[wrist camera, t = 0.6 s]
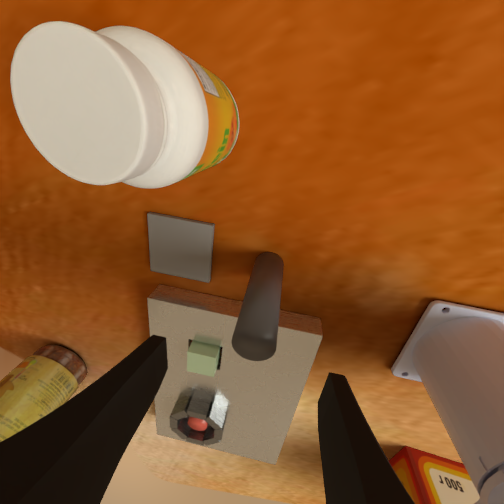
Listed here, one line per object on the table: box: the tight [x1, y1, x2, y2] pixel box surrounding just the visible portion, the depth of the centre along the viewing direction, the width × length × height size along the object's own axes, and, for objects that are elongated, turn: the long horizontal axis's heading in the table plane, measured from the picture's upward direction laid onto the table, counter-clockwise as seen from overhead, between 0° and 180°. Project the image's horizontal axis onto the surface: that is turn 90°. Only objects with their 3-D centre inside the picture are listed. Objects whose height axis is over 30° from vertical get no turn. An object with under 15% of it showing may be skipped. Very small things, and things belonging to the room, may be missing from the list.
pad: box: [187, 340, 221, 377], centre depth 22 cm, size 2×2×2 cm
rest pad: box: [147, 212, 215, 283], centre depth 19 cm, size 5×5×1 cm
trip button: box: [188, 417, 208, 431], centre depth 26 cm, size 2×2×2 cm
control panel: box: [147, 284, 323, 465], centre depth 24 cm, size 14×20×3 cm
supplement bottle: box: [10, 21, 239, 188], centre depth 11 cm, size 5×5×10 cm
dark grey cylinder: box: [231, 252, 284, 361], centre depth 16 cm, size 2×2×8 cm
